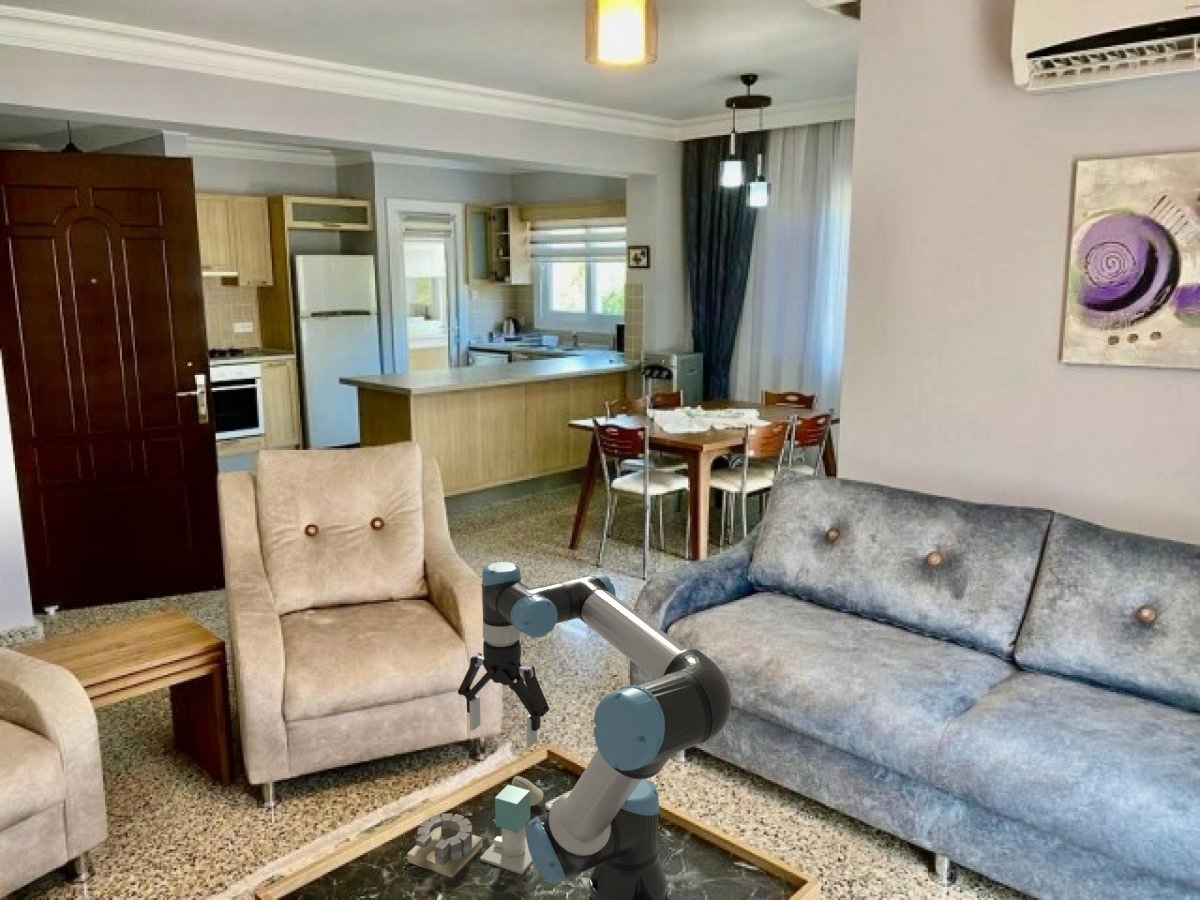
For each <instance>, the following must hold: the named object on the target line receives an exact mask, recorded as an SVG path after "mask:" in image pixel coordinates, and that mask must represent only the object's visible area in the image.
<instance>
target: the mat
mask: <svg viewBox="0 0 1200 900" xmlns="http://www.w3.org/2000/svg"><path fill="white" fill-rule="evenodd" d="M499 837H502V834H501V835H500V836H499ZM479 859H480V860H479V861H482V862H485V863H487V864H491V865H493V866H497V867H499V868H503V869H505V870H508V871H511V872H514V873H517V874H520V875H523V874H524V873H525V872H526V871H527V869H528V868H529V867H530V866H531V864H532V863H533V860H532V858H531V855H530V852H529V849H528V844H527V840H526V836H525V853H524V854H523V855H521V856H519V857H516V858H510V857H507V856H505V855H504V854H503V852H502V848H500V847H497V846H494V842H493V843H492V844H491V845H490V846H489V847H488V849H486V851H485V852H484V853H483V854H482V855H481V856H480V857H479Z"/></svg>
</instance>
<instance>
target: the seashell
mask: <svg viewBox="0 0 1200 900" xmlns="http://www.w3.org/2000/svg"><path fill="white" fill-rule="evenodd" d="M511 786H515V787H519V788H522V789H526V790H529V791H530V808H531V807H533V806H537V805H539V804H540V803H541V802H542V800H543V798H544V792H543V790H542V789H541V788H540V787H537V786H536V785H535V784H533V782H532V781H530V780H529V779H528V778H524V777H523V776H520V775H516V776H514V777H513V779H512V782H511Z"/></svg>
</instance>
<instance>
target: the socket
mask: <svg viewBox="0 0 1200 900" xmlns="http://www.w3.org/2000/svg"><path fill="white" fill-rule="evenodd" d="M416 834H417V835H416V836H417V837H416V839H415V845H414V847H413V848H411V849H410V850H409V851H408V852H407V853H406V854H407V862H408V863H409V864H412V865H416V866H418V867H421V868H422V869H423V868H424V869H426V870H429V871H432V872H435V873H438V874H441V875H442V876H443V875H444V876H446V877H449V878H451V879H452V878H453V879H454V877H455V876H456V875H457V873H459V872H460V871H461V870H462V868H464V866H466V865H467V864H468V862H469V861H470V860H471V859H472V858H473V857H474V856H475V855H476V854H477V853H478V852H479V851H480V850H481V848H483V837H481V836H478V835H476V834H473V825H472V822H471V821H470V820H469V819H468V818H467V817H466V818H465V816H463V815H460V814H458V813H455V814H454V815H453V813H441V815H440V814H437V815H436V814H435V815H433V816H431V817H428V819H425V820H424V821H423V822H422V823H420V825H419V827H418V829H417V833H416Z"/></svg>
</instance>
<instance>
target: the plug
mask: <svg viewBox="0 0 1200 900" xmlns="http://www.w3.org/2000/svg"><path fill="white" fill-rule="evenodd" d="M494 811H495V812H494V813H495V814H494V815H495V827H496V828H500V829H501V835H502V837H500V836H499V835H497V836H495V837H494V839H493V843H494V846H497V847H500V848H502V852H503V854H504V855H505V856H507V857H510V858H516V857H519V856H521V855H523V854H524V853H525V837H526V825H527V823H528V822H529V821H530V820H531V807H530V791H529V790H526V789H522V788H519V787H515V786H511V785H510V784H507V785H506V786H505V787H504V788H503V789H502V790H501V791H500V792H499V793H498V794H497V795H496V796H495V797H494Z"/></svg>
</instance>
